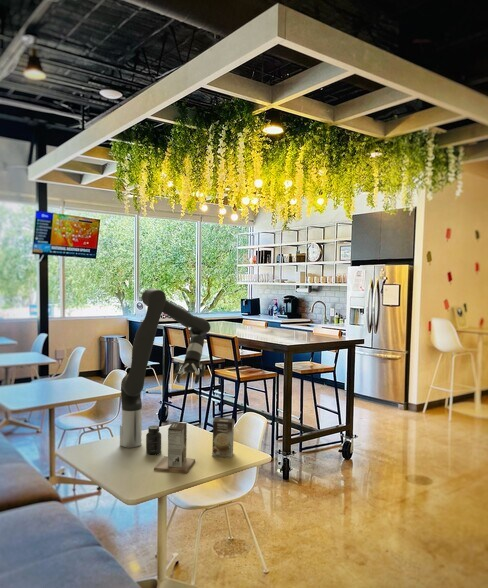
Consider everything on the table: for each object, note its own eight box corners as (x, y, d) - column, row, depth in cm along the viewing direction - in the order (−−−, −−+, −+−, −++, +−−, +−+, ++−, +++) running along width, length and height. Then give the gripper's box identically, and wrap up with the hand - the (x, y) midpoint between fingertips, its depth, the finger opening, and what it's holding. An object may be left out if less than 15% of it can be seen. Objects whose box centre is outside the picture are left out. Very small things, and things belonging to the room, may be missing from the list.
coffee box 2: (211, 456, 214) (212, 421, 214) (213, 451, 221) (214, 417, 220) (231, 457, 213) (232, 422, 213) (233, 452, 220) (234, 418, 219)
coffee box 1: (172, 458, 208) (172, 421, 207) (186, 459, 207) (187, 422, 207) (166, 466, 199) (167, 428, 198) (182, 467, 198) (182, 429, 198)
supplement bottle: (146, 450, 220) (147, 424, 220) (161, 450, 221) (162, 424, 220) (145, 456, 213) (145, 429, 213) (160, 455, 214) (160, 429, 214)
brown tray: (153, 470, 198) (154, 467, 198) (164, 458, 211) (164, 456, 211) (186, 473, 195) (186, 470, 195) (195, 461, 208) (195, 458, 208)
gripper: (178, 349, 234) (170, 377, 223) (206, 350, 231) (200, 378, 221) (181, 358, 239) (174, 385, 228) (209, 359, 237) (202, 387, 226)
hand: (186, 382), depth 225 cm, fingers open, 8 cm apart
